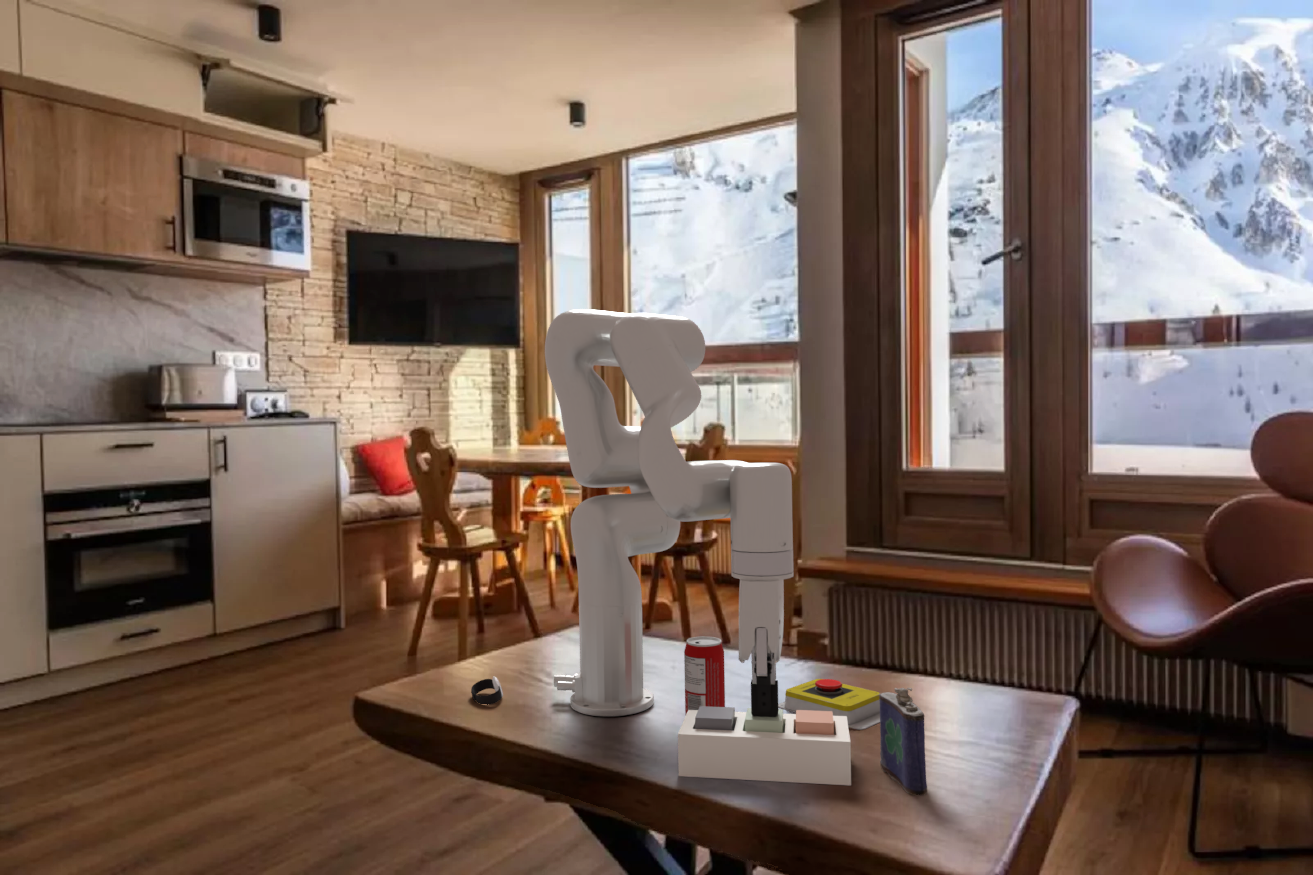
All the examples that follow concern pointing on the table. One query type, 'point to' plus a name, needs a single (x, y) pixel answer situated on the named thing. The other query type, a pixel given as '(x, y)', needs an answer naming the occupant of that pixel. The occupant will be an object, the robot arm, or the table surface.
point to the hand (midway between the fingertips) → (765, 714)
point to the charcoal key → (715, 718)
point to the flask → (903, 741)
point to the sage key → (764, 722)
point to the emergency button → (835, 701)
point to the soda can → (704, 673)
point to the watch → (487, 685)
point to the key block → (765, 753)
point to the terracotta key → (814, 722)
